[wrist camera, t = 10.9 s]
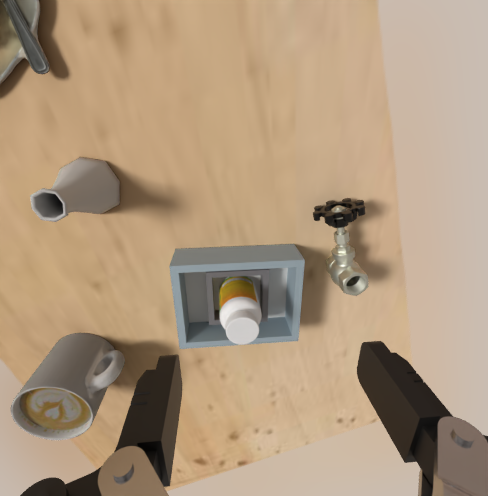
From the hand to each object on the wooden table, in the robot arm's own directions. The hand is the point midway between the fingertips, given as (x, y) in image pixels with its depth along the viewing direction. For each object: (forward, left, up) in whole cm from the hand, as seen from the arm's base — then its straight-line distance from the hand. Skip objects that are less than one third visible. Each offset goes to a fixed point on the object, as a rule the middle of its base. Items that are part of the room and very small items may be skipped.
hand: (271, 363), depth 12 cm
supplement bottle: (+12, 0, -27) cm, 30 cm away
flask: (-3, -18, -28) cm, 34 cm away
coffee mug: (+24, -23, -28) cm, 44 cm away
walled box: (+12, 0, -28) cm, 31 cm away
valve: (+6, +14, -28) cm, 32 cm away
